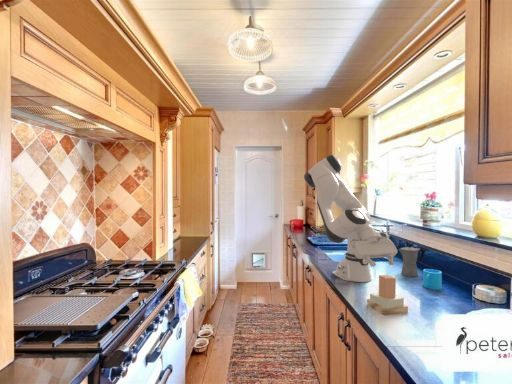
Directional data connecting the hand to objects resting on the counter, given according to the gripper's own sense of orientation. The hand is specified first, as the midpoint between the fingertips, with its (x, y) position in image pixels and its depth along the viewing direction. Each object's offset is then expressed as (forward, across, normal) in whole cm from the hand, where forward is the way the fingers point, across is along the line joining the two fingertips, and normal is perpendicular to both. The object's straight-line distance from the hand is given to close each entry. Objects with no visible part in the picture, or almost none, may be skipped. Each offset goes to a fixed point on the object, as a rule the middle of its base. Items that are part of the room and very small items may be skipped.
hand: (383, 265), depth 127 cm
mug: (+3, +40, +22) cm, 45 cm away
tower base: (+15, -1, +10) cm, 18 cm away
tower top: (+13, -2, +8) cm, 15 cm away
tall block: (+11, -2, +5) cm, 12 cm away
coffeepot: (-13, +49, +38) cm, 63 cm away
